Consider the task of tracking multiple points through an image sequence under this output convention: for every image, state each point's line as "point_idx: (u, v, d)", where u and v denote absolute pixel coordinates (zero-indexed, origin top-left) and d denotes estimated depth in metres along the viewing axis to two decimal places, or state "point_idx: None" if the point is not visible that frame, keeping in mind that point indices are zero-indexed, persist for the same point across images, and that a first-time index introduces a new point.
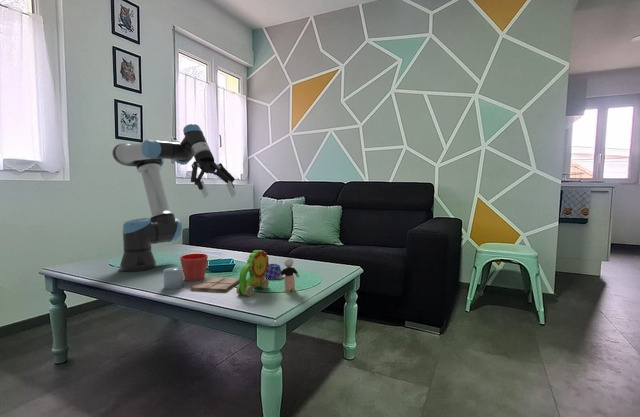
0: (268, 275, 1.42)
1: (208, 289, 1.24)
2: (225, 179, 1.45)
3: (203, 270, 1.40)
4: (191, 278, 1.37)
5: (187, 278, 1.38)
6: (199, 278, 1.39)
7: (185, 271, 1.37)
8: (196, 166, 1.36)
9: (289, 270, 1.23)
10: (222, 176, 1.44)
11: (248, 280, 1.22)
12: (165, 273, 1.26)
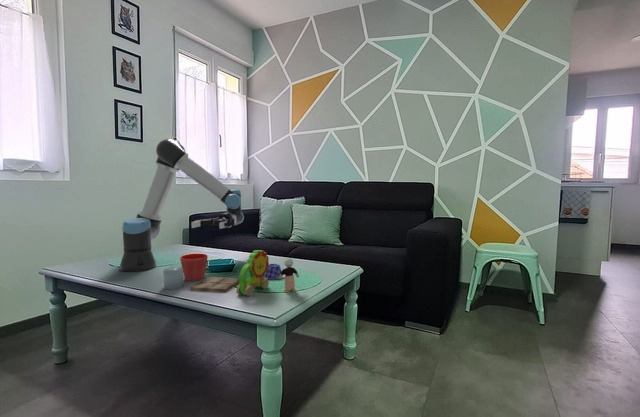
0: (268, 275, 1.42)
1: (208, 289, 1.24)
2: (202, 223, 1.59)
3: (203, 270, 1.40)
4: (191, 278, 1.37)
5: (187, 278, 1.38)
6: (199, 278, 1.39)
7: (185, 271, 1.37)
8: None
9: (289, 270, 1.23)
10: (206, 223, 1.60)
11: (248, 280, 1.22)
12: (165, 273, 1.26)
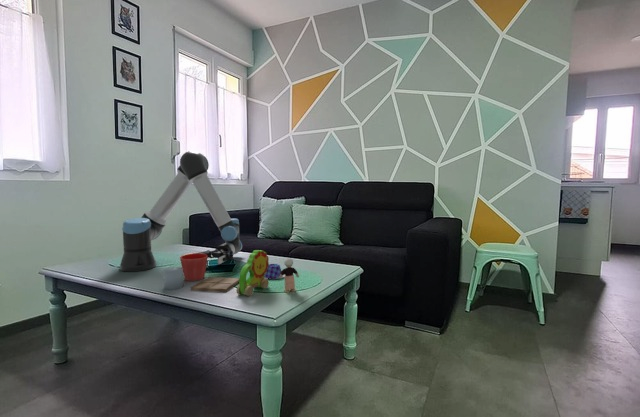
0: (268, 275, 1.42)
1: (208, 289, 1.24)
2: None
3: (203, 270, 1.40)
4: (191, 278, 1.37)
5: (187, 278, 1.38)
6: (199, 278, 1.39)
7: (185, 271, 1.37)
8: None
9: (289, 270, 1.23)
10: None
11: (248, 280, 1.22)
12: (165, 273, 1.26)
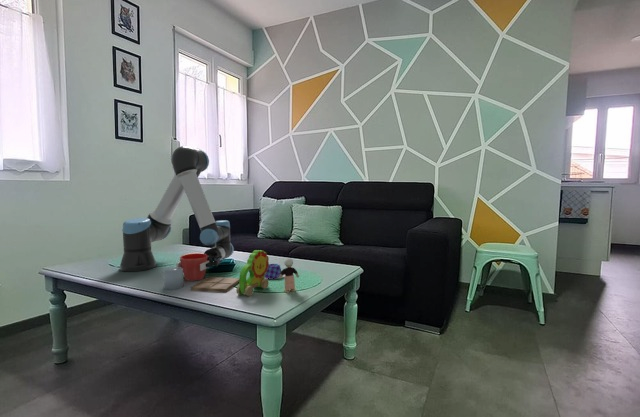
0: (269, 275, 1.41)
1: (208, 289, 1.24)
2: None
3: (203, 270, 1.40)
4: (191, 278, 1.37)
5: (187, 278, 1.38)
6: (199, 278, 1.39)
7: (185, 271, 1.37)
8: None
9: (289, 270, 1.23)
10: None
11: (248, 280, 1.22)
12: (165, 273, 1.26)
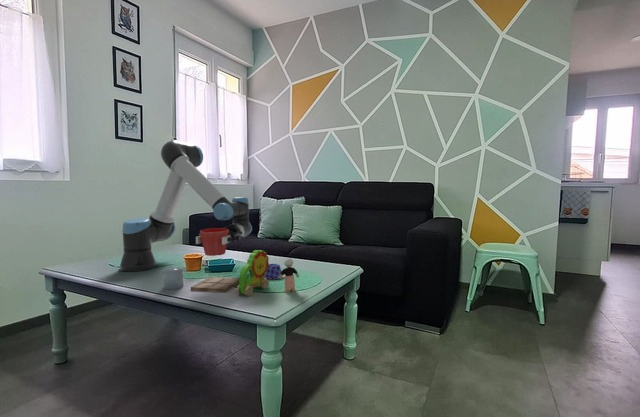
0: (270, 275, 1.41)
1: (208, 289, 1.24)
2: None
3: (224, 245, 1.30)
4: (212, 253, 1.28)
5: (208, 253, 1.28)
6: (220, 253, 1.29)
7: (206, 245, 1.28)
8: None
9: (289, 270, 1.23)
10: None
11: (248, 280, 1.22)
12: (165, 273, 1.26)
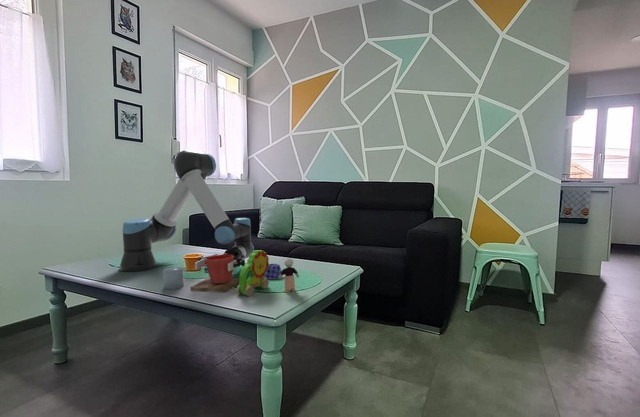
0: (270, 275, 1.41)
1: (208, 289, 1.24)
2: None
3: (230, 271, 1.30)
4: (218, 280, 1.27)
5: (214, 281, 1.28)
6: (227, 280, 1.29)
7: (212, 273, 1.27)
8: None
9: (289, 270, 1.23)
10: None
11: (248, 280, 1.22)
12: (165, 273, 1.26)
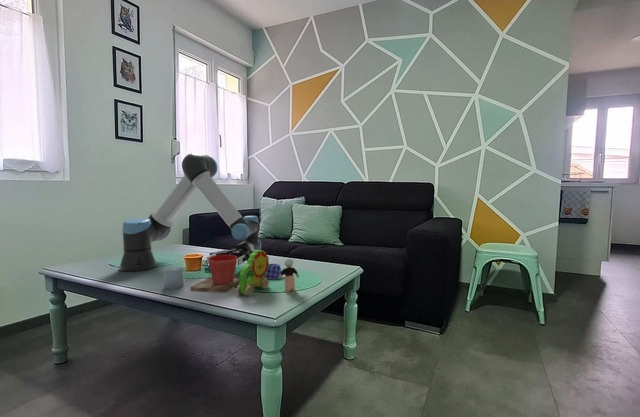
0: (270, 275, 1.41)
1: (208, 289, 1.24)
2: None
3: (234, 272, 1.31)
4: (223, 281, 1.28)
5: (218, 281, 1.28)
6: (230, 281, 1.30)
7: (216, 274, 1.27)
8: None
9: (289, 270, 1.23)
10: None
11: (248, 280, 1.22)
12: (165, 273, 1.26)
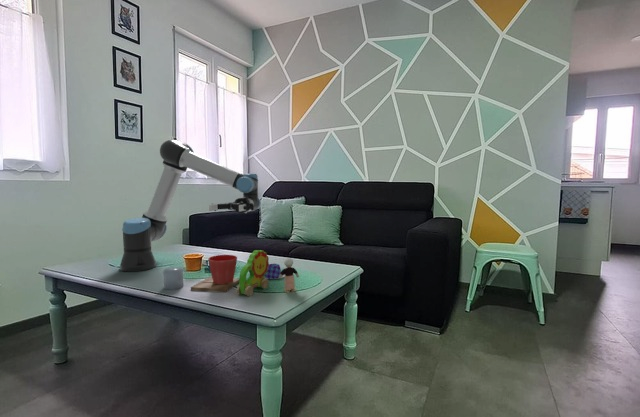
0: (271, 275, 1.41)
1: (208, 289, 1.24)
2: (220, 206, 1.51)
3: (234, 272, 1.31)
4: (223, 281, 1.28)
5: (218, 281, 1.28)
6: (230, 281, 1.30)
7: (216, 274, 1.27)
8: None
9: (289, 270, 1.23)
10: (223, 207, 1.52)
11: (248, 280, 1.22)
12: (165, 273, 1.26)
